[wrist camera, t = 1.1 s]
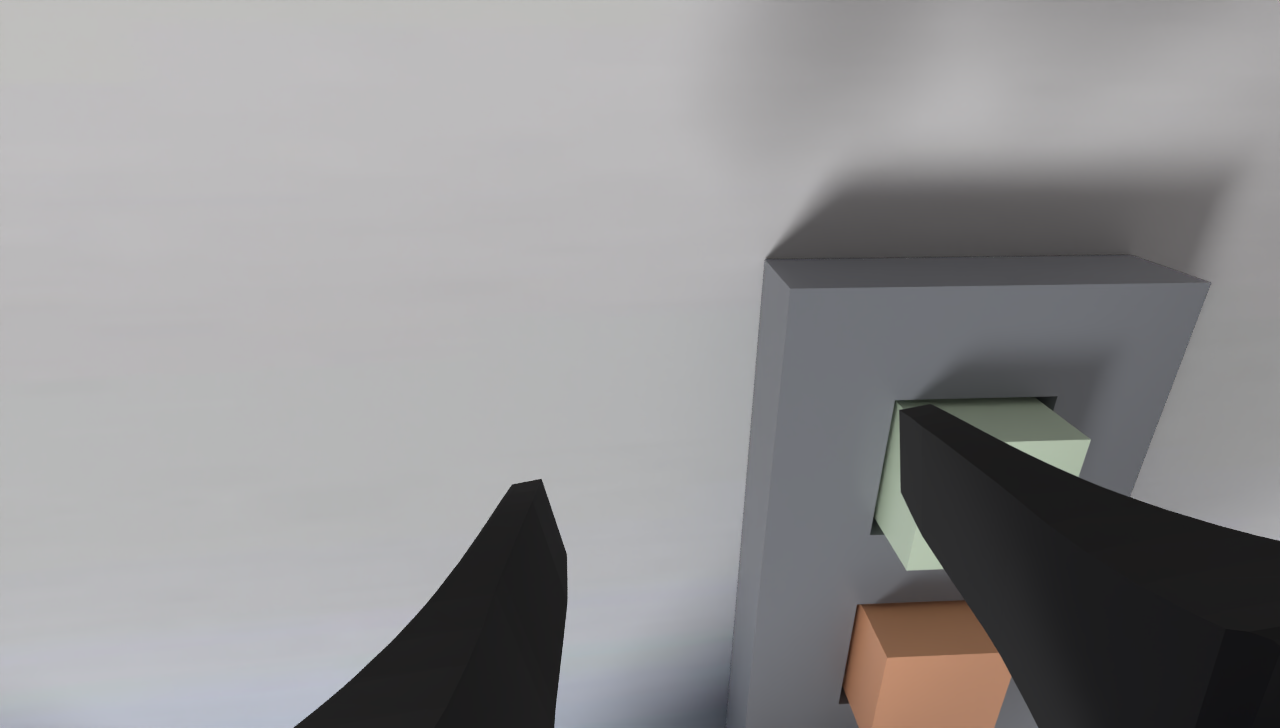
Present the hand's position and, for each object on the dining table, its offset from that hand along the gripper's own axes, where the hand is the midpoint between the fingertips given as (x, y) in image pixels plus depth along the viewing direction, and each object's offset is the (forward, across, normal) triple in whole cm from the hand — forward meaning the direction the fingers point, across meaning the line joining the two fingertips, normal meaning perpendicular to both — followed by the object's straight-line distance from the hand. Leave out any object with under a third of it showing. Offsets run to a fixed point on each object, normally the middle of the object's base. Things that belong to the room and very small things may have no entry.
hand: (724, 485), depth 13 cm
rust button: (+7, -6, +14) cm, 16 cm away
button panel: (+8, -6, +14) cm, 17 cm away
